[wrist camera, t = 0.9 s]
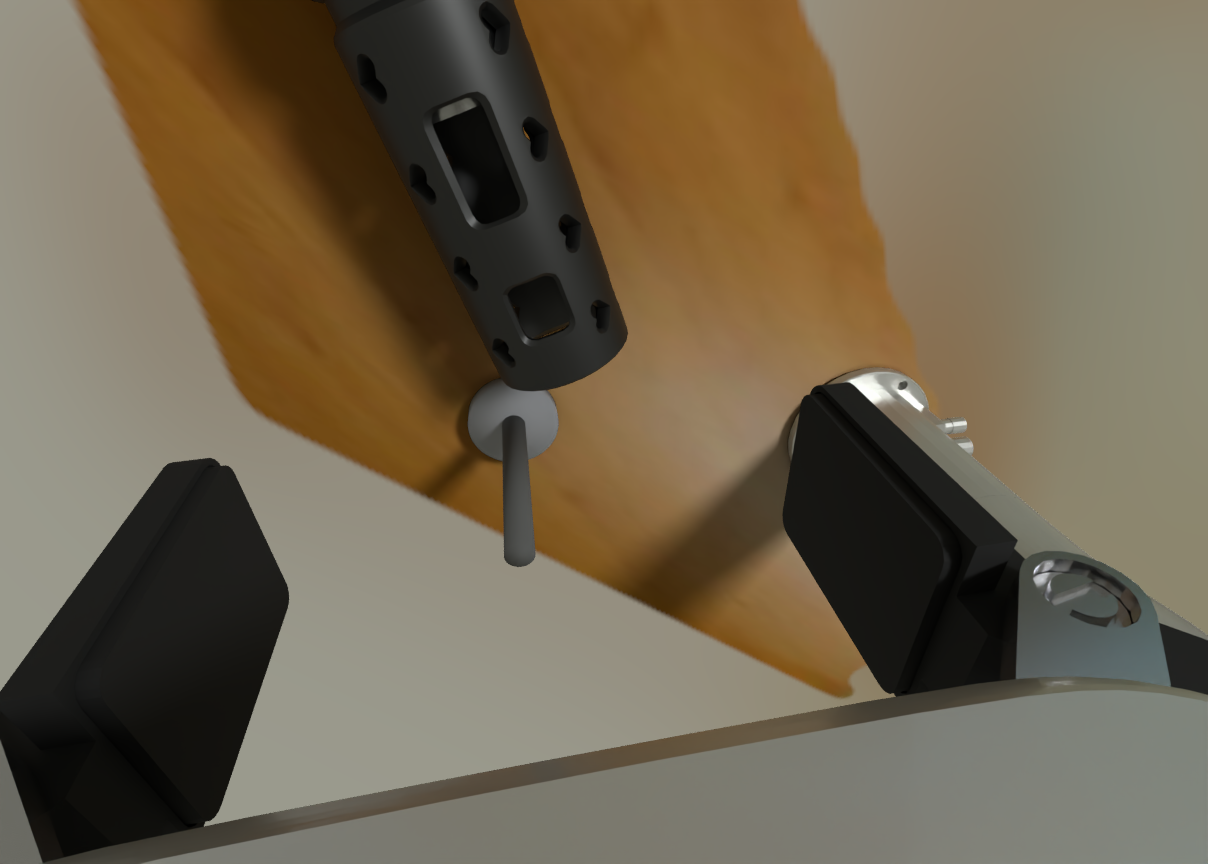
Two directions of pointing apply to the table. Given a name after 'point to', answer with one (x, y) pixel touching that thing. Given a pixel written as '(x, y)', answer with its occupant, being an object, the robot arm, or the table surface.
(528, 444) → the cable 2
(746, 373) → the table surface
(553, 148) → the muzzle brake
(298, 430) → the table surface
